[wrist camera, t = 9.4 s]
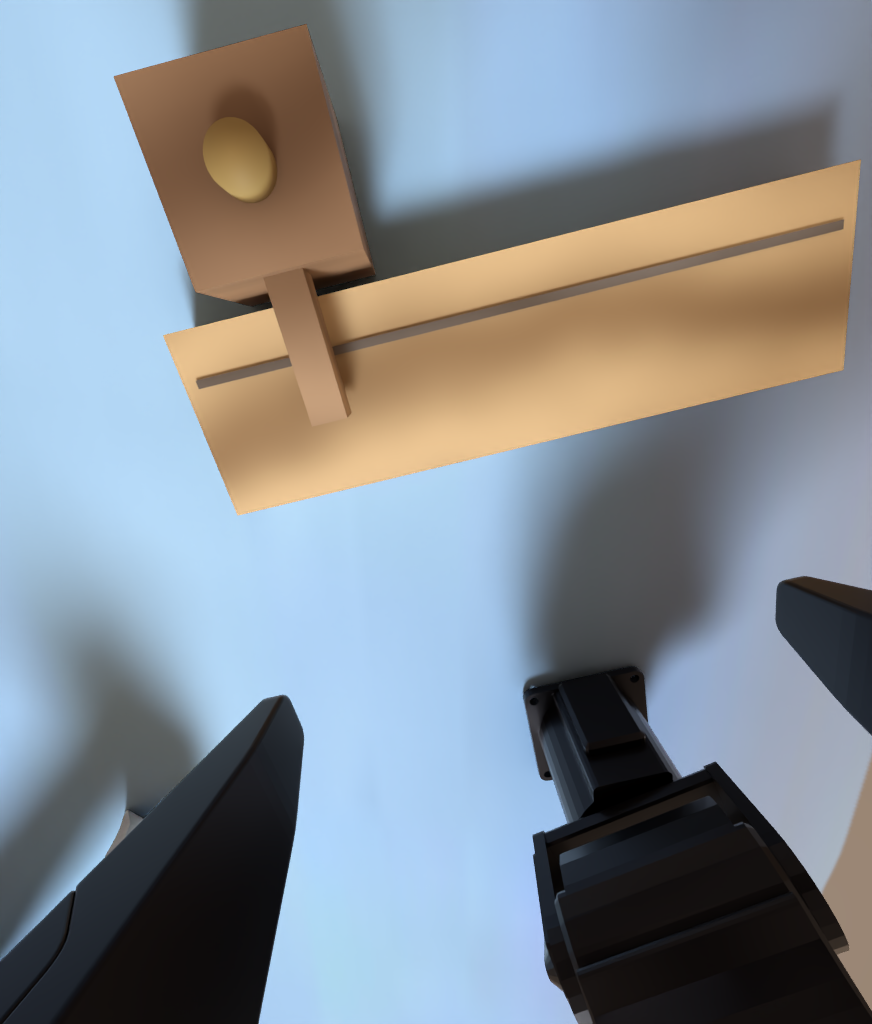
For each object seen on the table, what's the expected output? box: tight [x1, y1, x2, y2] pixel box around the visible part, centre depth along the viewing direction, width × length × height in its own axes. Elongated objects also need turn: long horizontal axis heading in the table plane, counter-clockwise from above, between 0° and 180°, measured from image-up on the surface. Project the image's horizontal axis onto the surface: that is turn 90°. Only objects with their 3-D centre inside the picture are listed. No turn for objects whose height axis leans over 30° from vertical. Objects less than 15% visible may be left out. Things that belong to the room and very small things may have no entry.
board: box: [163, 160, 861, 515], centre depth 18 cm, size 7×24×3 cm, turn 103°
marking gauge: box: [114, 24, 376, 427], centre depth 15 cm, size 10×5×6 cm, turn 13°
